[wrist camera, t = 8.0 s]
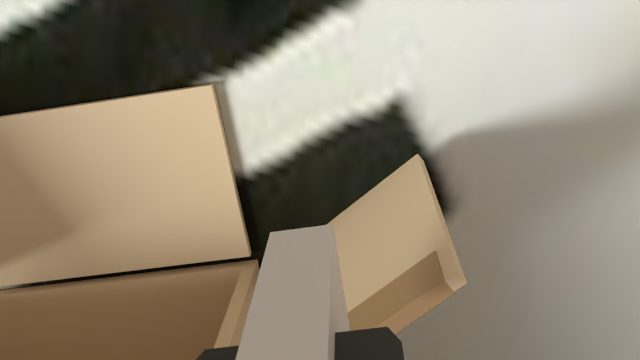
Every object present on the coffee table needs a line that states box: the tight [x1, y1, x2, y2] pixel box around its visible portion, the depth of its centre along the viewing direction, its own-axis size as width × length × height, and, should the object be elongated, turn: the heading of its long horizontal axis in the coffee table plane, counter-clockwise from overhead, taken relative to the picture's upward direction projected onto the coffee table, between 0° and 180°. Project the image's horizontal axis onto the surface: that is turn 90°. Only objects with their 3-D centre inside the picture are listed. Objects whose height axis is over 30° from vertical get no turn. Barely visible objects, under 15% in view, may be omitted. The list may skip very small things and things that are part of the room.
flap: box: [327, 154, 467, 334], centre depth 20 cm, size 8×1×10 cm, turn 131°
